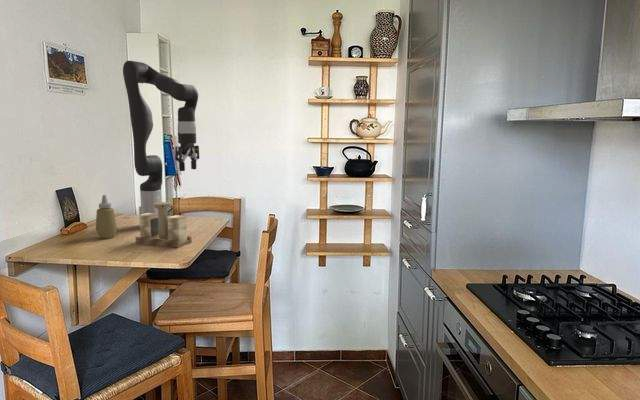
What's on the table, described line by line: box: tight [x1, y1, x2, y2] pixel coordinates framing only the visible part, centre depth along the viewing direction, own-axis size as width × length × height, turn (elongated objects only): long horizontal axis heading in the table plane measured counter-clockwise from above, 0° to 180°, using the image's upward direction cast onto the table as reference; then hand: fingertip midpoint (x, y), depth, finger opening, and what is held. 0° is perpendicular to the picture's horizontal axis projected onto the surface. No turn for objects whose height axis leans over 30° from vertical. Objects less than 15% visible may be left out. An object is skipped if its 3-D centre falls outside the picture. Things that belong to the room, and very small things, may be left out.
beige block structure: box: [134, 213, 192, 249], centre depth 177 cm, size 20×9×11 cm, turn 73°
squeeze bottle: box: [95, 194, 118, 239], centre depth 183 cm, size 8×8×18 cm
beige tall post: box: [154, 201, 172, 240], centre depth 176 cm, size 5×6×15 cm
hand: (188, 170), depth 190 cm, fingers open, 8 cm apart
